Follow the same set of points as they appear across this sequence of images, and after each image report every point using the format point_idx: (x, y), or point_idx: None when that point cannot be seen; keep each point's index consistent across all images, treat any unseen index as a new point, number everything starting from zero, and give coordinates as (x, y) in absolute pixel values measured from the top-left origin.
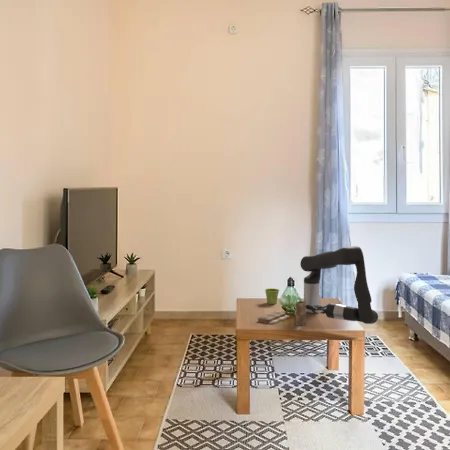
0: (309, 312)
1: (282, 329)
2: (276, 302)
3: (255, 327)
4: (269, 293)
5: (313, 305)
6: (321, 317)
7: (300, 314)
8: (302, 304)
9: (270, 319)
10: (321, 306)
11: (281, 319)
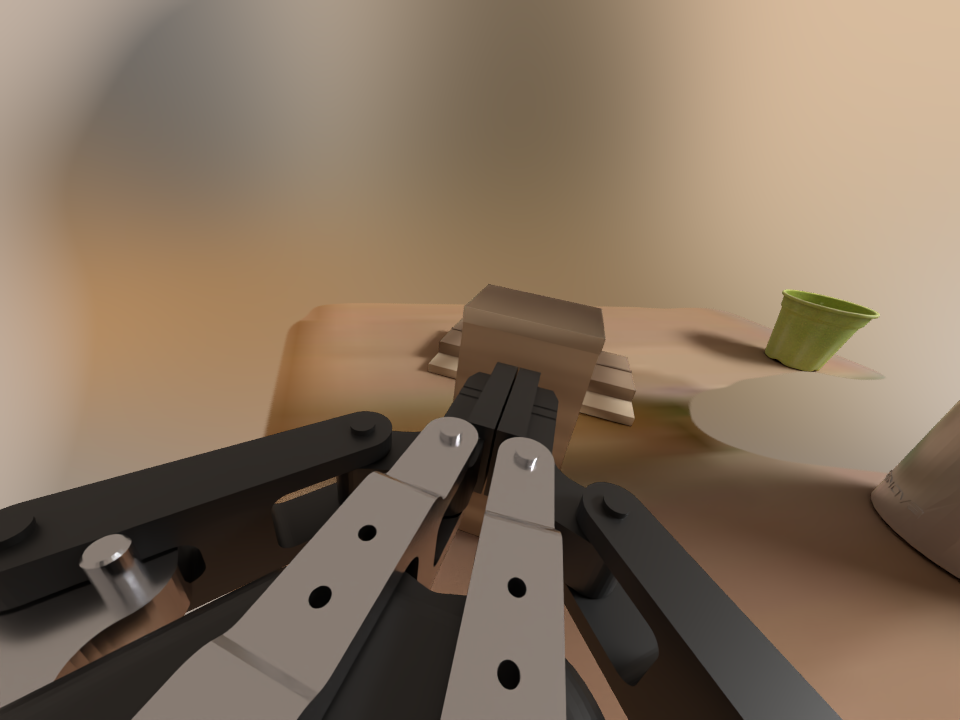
0: (899, 534)
1: (306, 411)
2: (810, 366)
3: (351, 329)
4: (788, 306)
5: (520, 436)
6: (945, 715)
7: None
8: (480, 326)
9: (456, 347)
10: (157, 696)
11: None
